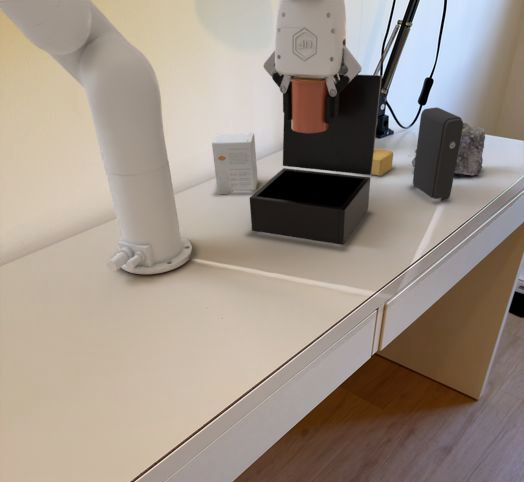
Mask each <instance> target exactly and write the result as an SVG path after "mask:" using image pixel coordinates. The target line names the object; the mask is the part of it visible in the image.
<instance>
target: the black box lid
mask: <svg viewBox="0 0 524 482" xmlns="http://www.w3.org/2000/svg"><path fill="white" fill-rule="evenodd" d="M338 75H339V78H340V79H341V78H342V77H343V76H344V75H345V74H338ZM382 79H383V75H380V74H358V75H357V76H356V77H355V78H354V79H352V80H351V82H350V83H349V84H348V85H347V86H346V87H345V88H344V89H343V90H342V91H341V92H340V93H339V106H338V115H337V117H335V120H334V121H332V122H331V123H330V124H329V128H328V129H327V130H326V131H323V132H319V133H299V132H296V131H293V130H292V119H290V120H285V113H284V112H283V135H282V136H283V137H282V139H283V140H282V167H288V168H289V167H290V168H299V169H306V170H318V171H328V172H329V171H330V172H336V173H337V172H338V173H345V174H347V173H348V174H355V175H356V174H357V175H367V176H371V175H372V174H371V172H372V163H373V154H374V148H375V145H376V144H375V143H376V135H377V127H376V126H378V123H377V117H379V107H380V98H381V88H382Z"/></svg>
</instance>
